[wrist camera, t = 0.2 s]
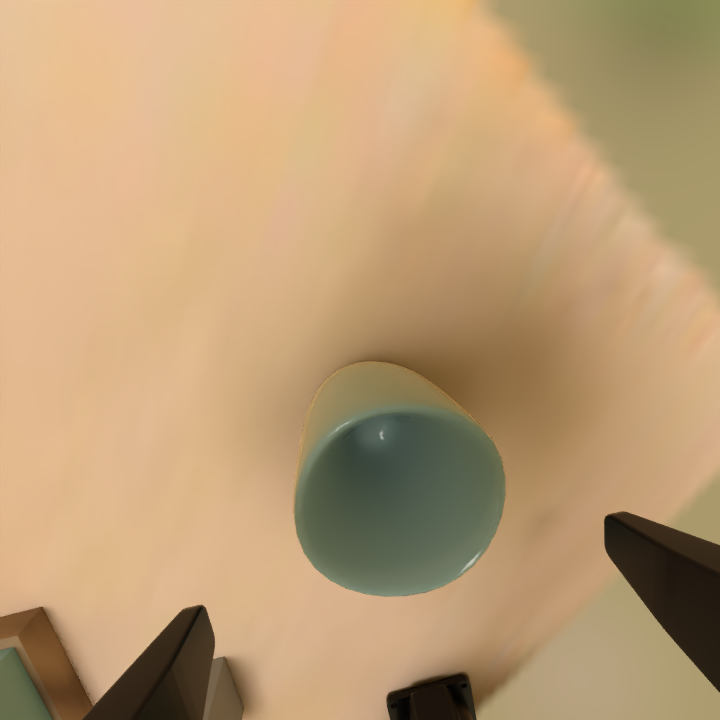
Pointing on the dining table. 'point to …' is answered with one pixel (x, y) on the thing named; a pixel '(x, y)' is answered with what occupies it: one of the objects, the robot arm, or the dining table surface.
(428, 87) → the dining table surface
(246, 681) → the dining table surface
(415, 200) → the dining table surface
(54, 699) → the tower bottom
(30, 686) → the tower top
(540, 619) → the dining table surface
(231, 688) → the grey cube
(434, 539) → the cup
